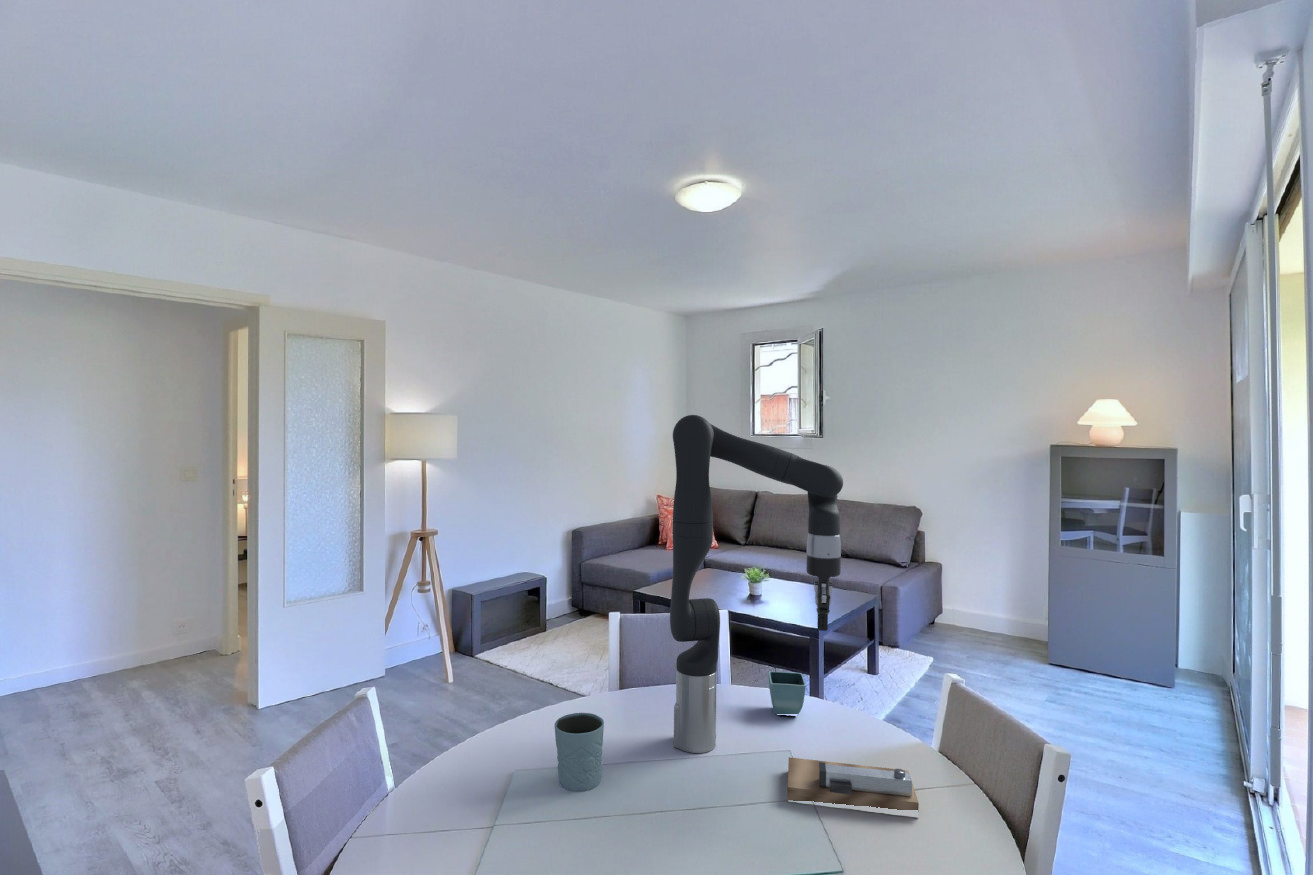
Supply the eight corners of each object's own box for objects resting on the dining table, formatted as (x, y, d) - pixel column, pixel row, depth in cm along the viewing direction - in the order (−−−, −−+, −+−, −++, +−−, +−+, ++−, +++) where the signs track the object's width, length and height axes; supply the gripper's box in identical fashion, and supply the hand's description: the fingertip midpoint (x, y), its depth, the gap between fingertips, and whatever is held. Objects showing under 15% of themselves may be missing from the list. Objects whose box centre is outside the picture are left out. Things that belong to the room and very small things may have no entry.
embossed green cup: (595, 796, 132) (595, 736, 132) (546, 790, 134) (547, 731, 134) (609, 770, 142) (609, 714, 142) (563, 765, 144) (564, 709, 144)
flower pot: (801, 706, 175) (802, 672, 175) (805, 721, 167) (806, 685, 166) (767, 704, 176) (768, 670, 176) (769, 719, 168) (770, 683, 167)
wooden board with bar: (787, 802, 131) (787, 779, 131) (788, 771, 142) (788, 750, 142) (918, 818, 126) (918, 794, 126) (908, 785, 137) (908, 763, 137)
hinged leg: (908, 787, 130) (909, 768, 130) (911, 797, 127) (912, 777, 127) (818, 778, 134) (819, 758, 134) (819, 787, 130) (819, 767, 130)
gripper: (842, 560, 145) (841, 640, 145) (839, 549, 158) (837, 622, 158) (807, 558, 147) (805, 637, 147) (806, 547, 160) (805, 620, 160)
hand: (822, 629), depth 153 cm, fingers closed
